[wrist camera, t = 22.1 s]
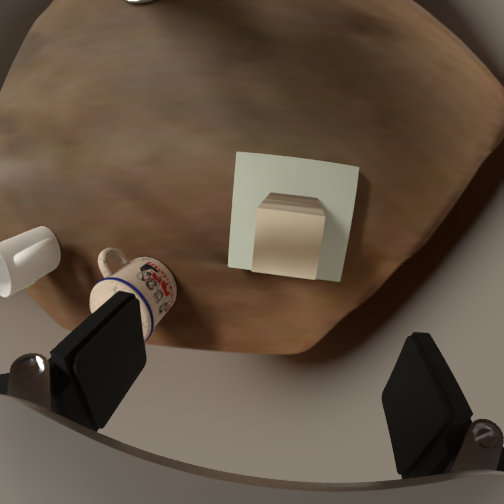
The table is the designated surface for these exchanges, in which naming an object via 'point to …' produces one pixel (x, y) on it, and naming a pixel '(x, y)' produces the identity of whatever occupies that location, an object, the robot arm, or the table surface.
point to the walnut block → (293, 198)
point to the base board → (294, 183)
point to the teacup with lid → (137, 286)
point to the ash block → (288, 238)
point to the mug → (27, 259)
